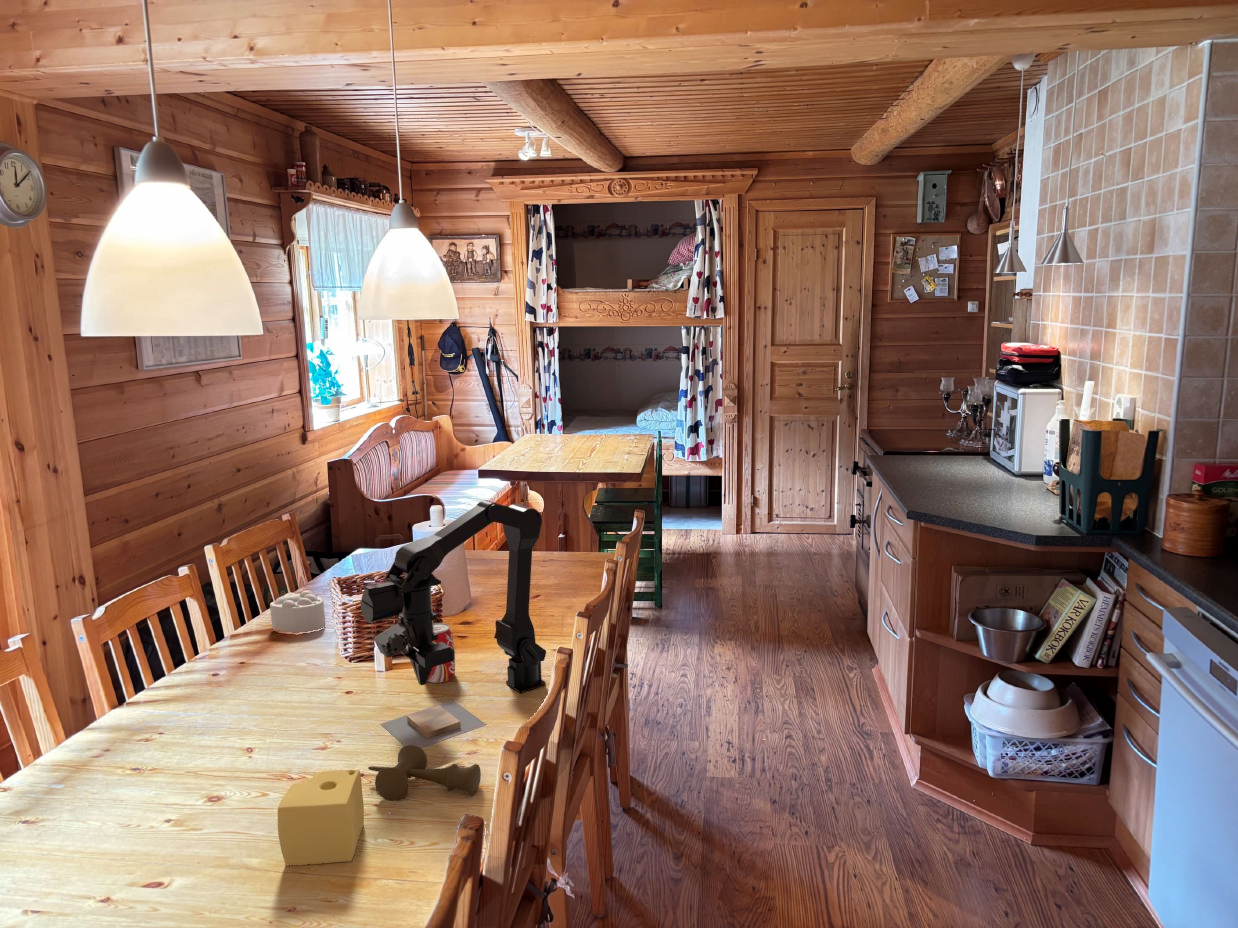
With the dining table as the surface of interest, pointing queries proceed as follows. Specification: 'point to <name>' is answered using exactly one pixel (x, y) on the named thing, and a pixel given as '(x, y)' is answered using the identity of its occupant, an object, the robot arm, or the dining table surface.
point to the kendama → (422, 775)
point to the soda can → (447, 669)
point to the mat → (413, 737)
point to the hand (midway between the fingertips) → (422, 684)
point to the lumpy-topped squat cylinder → (298, 612)
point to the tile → (433, 721)
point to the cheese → (321, 818)
